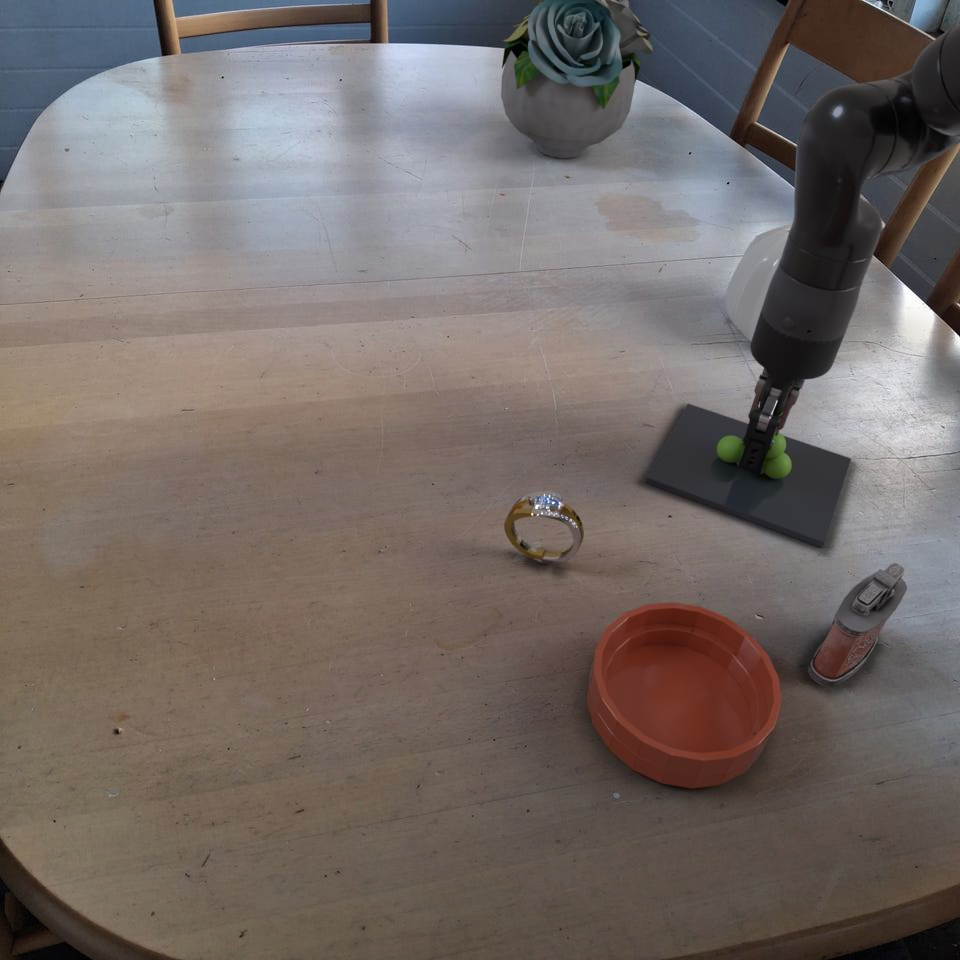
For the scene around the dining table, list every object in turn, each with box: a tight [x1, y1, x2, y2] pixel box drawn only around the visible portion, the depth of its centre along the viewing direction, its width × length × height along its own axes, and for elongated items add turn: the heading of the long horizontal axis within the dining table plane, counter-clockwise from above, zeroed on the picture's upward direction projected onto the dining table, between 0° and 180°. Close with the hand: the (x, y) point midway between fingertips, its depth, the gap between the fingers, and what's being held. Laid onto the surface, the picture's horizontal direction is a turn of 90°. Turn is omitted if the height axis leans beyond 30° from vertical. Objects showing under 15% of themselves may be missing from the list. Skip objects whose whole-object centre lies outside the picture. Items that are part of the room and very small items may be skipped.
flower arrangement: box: [500, 0, 654, 159], centre depth 142 cm, size 25×25×24 cm
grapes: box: [717, 430, 792, 479], centre depth 91 cm, size 8×3×6 cm, turn 63°
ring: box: [503, 490, 585, 565], centre depth 80 cm, size 7×3×8 cm, turn 67°
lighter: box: [807, 562, 908, 688], centre depth 73 cm, size 8×3×10 cm, turn 133°
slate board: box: [644, 403, 852, 549], centre depth 93 cm, size 18×14×1 cm
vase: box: [723, 224, 792, 343], centre depth 109 cm, size 14×14×13 cm
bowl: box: [586, 601, 783, 789], centre depth 71 cm, size 14×14×4 cm
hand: (753, 458), depth 92 cm, fingers closed on grapes, 3 cm apart
